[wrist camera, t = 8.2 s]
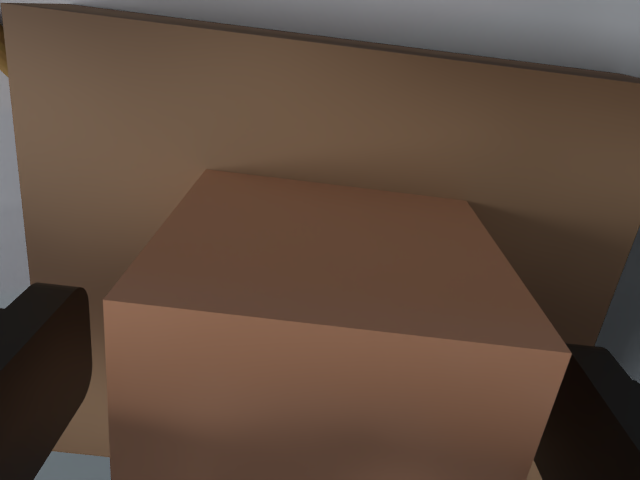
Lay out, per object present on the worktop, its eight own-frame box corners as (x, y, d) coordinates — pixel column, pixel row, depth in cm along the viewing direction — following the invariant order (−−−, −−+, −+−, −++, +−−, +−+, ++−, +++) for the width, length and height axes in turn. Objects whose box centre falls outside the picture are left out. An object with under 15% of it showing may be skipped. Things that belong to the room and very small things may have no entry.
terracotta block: (205, 169, 10) (102, 299, 6) (466, 200, 10) (571, 353, 6) (198, 382, 12) (116, 608, 8) (417, 407, 12) (466, 643, 8)
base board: (67, 4, 12) (1, 3, 9) (621, 73, 12) (691, 89, 9) (90, 384, 15) (48, 450, 13) (505, 429, 16) (535, 501, 13)
